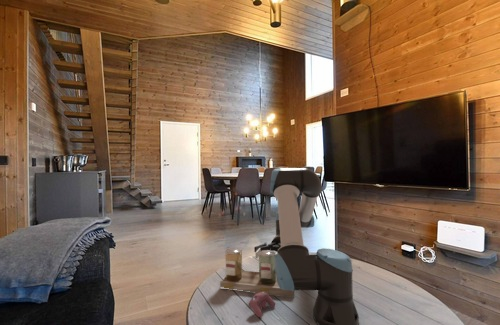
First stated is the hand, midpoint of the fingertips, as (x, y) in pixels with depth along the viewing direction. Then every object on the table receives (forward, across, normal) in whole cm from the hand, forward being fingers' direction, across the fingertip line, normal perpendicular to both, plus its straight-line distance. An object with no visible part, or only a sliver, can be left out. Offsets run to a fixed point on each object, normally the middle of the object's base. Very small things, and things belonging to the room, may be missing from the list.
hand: (270, 256), depth 119 cm
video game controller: (+24, -3, -11) cm, 27 cm away
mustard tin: (+7, +16, -9) cm, 19 cm away
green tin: (+6, 0, -9) cm, 11 cm away
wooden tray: (+5, +4, -11) cm, 13 cm away
